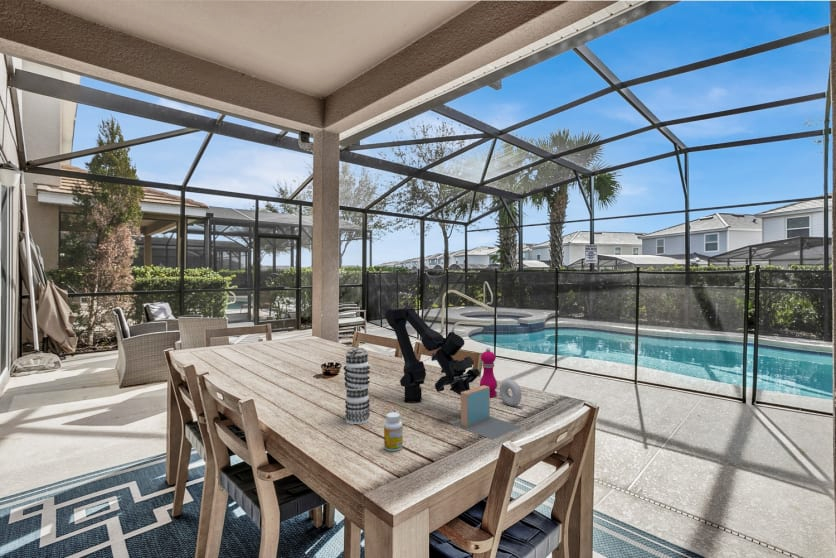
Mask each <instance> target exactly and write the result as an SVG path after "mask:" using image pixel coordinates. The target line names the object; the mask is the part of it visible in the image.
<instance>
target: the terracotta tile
mask: <svg viewBox="0 0 836 558" xmlns="http://www.w3.org/2000/svg"><path fill="white" fill-rule="evenodd" d="M490 398H491V397H490V391H489V387H488V386H485V385H483V386H480V385H479V386H477V387H473V388H470V390H467V391H464V392H461V395H460V421H461V425H462V426H464V427H469V426H472V425H474V424H477V423H479V422H482V421H484V420H487V419H489V418H490V416H491V415H490V414H491V413H490V411H491V410H490V408H491V407H490V406H491V405H490V404H491V403H490V402H491V401H490Z"/></svg>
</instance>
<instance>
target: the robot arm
mask: <svg viewBox="0 0 836 558" xmlns="http://www.w3.org/2000/svg"><path fill="white" fill-rule="evenodd" d="M385 319H386V322H387V324H388V326H390V328H391V329H393V331H394V334H395V336H396V339H397V342H398V346H399V350H400V352H401V355H402V357H403V361H404V365H403V366H404V367H403V376H402V377H401V378H400V380H399V385H400V386H401V387H403V388H404V398H403V399H404V400H403V402H404V403H421V400H422V397H423V396H422V395H423V394H422V391H423V390H422V387H421V385H423V384H425V383H424V382H425V380H426V379H425V378H426V377H427V369H426V367H425V365H424V364H425V363H424V362H423V360H421V361H420V360H419V359H418V358H417V356H416V354H415V351H414V348H413V345H412V341H411V339H410V336H409V332H408V329H407V327H406V326H407V322H408V323H409V325H410V326H411V327H412V328H413V329H414V330H415V332H417V334H418V335H419V336H420V338H421V340H420V341H421V344H422V345H423V347H424V348H425V350H426V351H428V352H432V351H436V352H433V353H432V355H431V362H434V361H435V362H437V363H438V365H439V366H440V368H441V370H440V373H441V374H445V375H444V376H443V375H442V376H441V377H440V378H438V380H437V381H436V382H435V383H434V389H435V391H436V392H437V393H440V392H443V391H444V390H445V386H449V385H450V388H449V391H452V392H453V393H456V394H457V395H459V396H461V392H464V391H467V390H470V389H471V388H470V384H471V383H473V382H474V381H476V379H477V378H478V377H479V376H480V375H481V371H480V370H479V369H478V368H477V367H475V368H473V365H474V359H473V358H472V357H471V356H466V357H464V358H463V359H461V360H458V359H456V360H455V358H454V357H453V356H456V355H457V354H458V353H459V351H460V350H461V349H462V347H464V345H465V340H464V338H463V337H462V336H460V335H459V334H456V333H455V332H454V331H450V332H448V334H447V336H446V337H445V336H443V335H442V334H441V333H440V332H439V331H437V330H434V329H433V328H431V327H430V326H429V325H428V323H426V322H425V321H424V320H423V319H422V318H421V316H420V315H419V314H418V313H417V311H416V310H415V308H414V307H398V308H397V307H396V308H388V309H387V310H386V313H385ZM467 369H468V370H467Z"/></svg>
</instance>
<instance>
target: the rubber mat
mask: <svg viewBox="0 0 836 558" xmlns="http://www.w3.org/2000/svg"><path fill="white" fill-rule="evenodd" d="M452 425H454V426H456V427H458V428H461V429H463V430H466V431H468V432H471V433H474V434H477V435H478V436H482V437H484V438H486V439H489V440H492V441H493V440H495V439H497V438H500V437H502V436H503V435H506V434H508V433H510V432H512V431H514V430H516V429H518V428H521V425H517V424H514V423H512V422H509V421H505V420H502V419H499V418H496V417H494V416H491V415H490V418H489V419H487V420H484V421H482V422H479V423H477V424H474V425H472V426H469V427H464V426H462V425H461V420H459V421H456V422H453V423H452Z"/></svg>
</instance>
